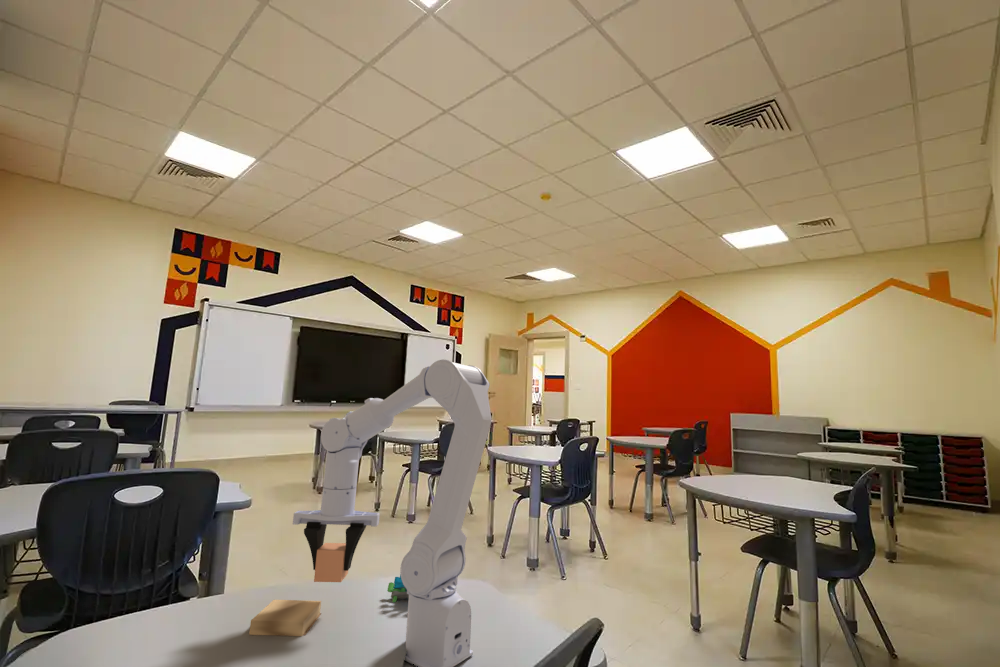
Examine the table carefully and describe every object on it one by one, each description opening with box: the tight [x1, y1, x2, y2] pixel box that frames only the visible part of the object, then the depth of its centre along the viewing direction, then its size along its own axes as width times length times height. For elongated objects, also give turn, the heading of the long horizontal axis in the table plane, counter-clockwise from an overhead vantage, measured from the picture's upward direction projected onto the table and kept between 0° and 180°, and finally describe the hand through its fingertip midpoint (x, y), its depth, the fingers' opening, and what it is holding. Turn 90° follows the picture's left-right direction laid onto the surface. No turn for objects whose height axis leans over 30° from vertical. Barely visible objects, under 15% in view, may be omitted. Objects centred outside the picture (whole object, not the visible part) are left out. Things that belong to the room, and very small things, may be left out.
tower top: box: [248, 599, 322, 637], centre depth 74 cm, size 8×8×2 cm
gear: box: [387, 573, 409, 603], centre depth 84 cm, size 11×6×10 cm
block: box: [313, 542, 349, 583], centre depth 80 cm, size 4×4×5 cm
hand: (332, 568), depth 80 cm, fingers closed on block, 4 cm apart
